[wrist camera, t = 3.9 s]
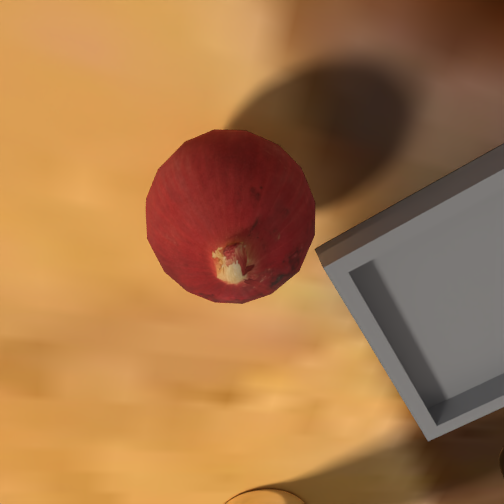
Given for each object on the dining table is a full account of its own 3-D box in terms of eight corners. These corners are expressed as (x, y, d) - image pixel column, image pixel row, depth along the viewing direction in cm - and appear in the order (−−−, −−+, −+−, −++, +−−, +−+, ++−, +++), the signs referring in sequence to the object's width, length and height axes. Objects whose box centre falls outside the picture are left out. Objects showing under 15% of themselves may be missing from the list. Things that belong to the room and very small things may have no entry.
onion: (324, 185, 20) (388, 277, 12) (228, 270, 21) (236, 396, 14) (228, 80, 17) (239, 119, 10) (129, 183, 19) (77, 279, 12)
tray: (314, 249, 21) (323, 267, 19) (584, 98, 19) (619, 105, 17) (414, 415, 26) (428, 441, 24) (634, 312, 24) (664, 333, 22)
